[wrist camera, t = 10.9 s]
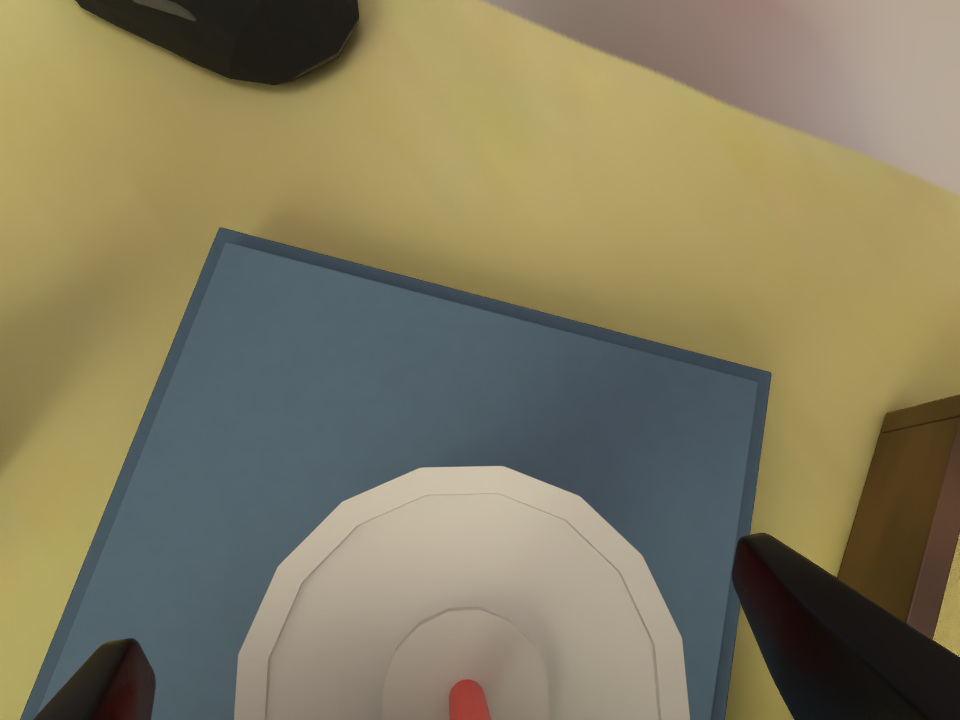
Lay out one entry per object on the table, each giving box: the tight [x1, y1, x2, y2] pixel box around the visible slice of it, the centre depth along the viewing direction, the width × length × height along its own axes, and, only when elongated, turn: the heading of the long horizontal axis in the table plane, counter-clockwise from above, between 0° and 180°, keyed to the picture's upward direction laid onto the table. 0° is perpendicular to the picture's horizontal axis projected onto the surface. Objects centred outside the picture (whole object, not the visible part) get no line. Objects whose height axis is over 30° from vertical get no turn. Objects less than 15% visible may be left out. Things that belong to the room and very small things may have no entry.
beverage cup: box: [234, 466, 690, 720], centre depth 10 cm, size 6×6×14 cm
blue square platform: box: [20, 228, 771, 720], centre depth 18 cm, size 18×18×2 cm
